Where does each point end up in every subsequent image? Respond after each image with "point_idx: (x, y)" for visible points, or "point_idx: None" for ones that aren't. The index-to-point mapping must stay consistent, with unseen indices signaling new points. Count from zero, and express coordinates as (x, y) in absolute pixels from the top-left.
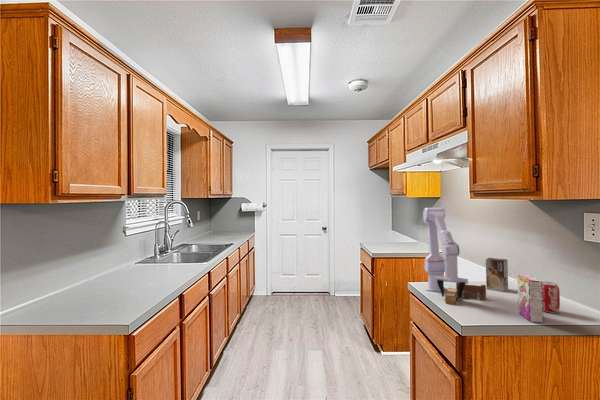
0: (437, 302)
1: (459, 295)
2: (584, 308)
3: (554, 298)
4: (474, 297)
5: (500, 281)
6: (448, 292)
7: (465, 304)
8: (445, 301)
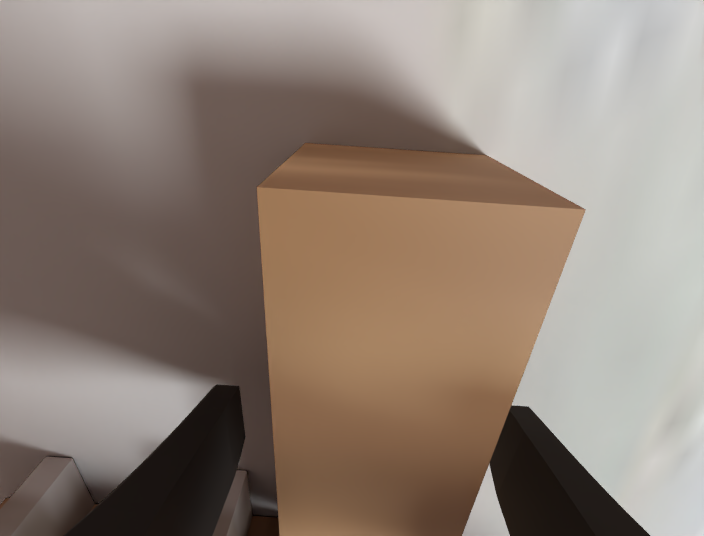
0: (640, 176)
1: (210, 426)
2: None
3: None
4: None
5: None
6: (437, 480)
7: (134, 226)
8: (499, 163)
